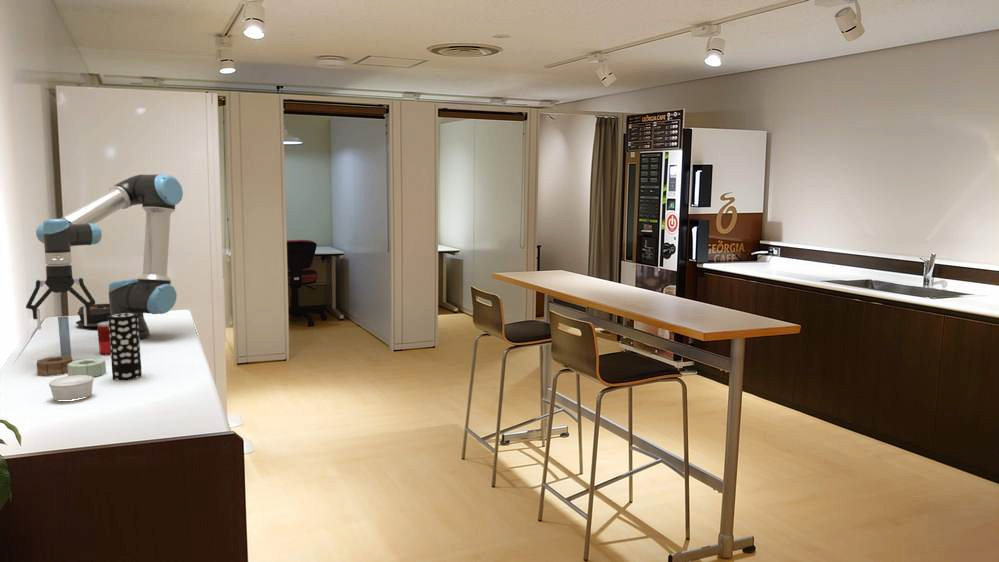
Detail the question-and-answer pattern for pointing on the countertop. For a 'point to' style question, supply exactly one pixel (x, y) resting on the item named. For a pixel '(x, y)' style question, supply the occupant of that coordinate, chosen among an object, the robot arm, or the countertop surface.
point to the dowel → (64, 336)
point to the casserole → (95, 315)
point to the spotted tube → (124, 346)
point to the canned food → (104, 338)
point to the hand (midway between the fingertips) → (62, 327)
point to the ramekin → (71, 387)
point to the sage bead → (87, 367)
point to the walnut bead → (53, 365)
